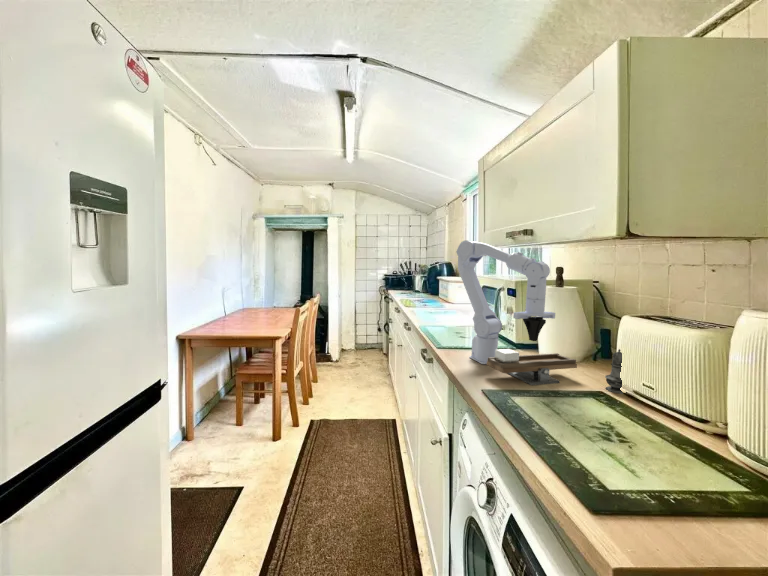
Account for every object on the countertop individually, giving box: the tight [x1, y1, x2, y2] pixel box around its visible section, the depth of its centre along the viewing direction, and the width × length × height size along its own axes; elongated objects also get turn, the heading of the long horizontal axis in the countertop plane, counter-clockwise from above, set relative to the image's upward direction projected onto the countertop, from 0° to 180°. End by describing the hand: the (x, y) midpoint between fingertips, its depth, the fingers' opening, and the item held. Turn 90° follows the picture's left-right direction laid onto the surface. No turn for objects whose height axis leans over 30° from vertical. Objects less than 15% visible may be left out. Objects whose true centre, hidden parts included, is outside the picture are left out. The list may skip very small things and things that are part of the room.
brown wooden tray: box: [486, 353, 578, 374], centre depth 113 cm, size 9×26×2 cm, turn 106°
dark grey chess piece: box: [604, 348, 624, 395], centre depth 103 cm, size 6×6×12 cm
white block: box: [495, 348, 520, 364], centre depth 110 cm, size 5×5×4 cm
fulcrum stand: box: [507, 368, 560, 386], centre depth 113 cm, size 14×10×4 cm
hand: (532, 340), depth 118 cm, fingers closed
